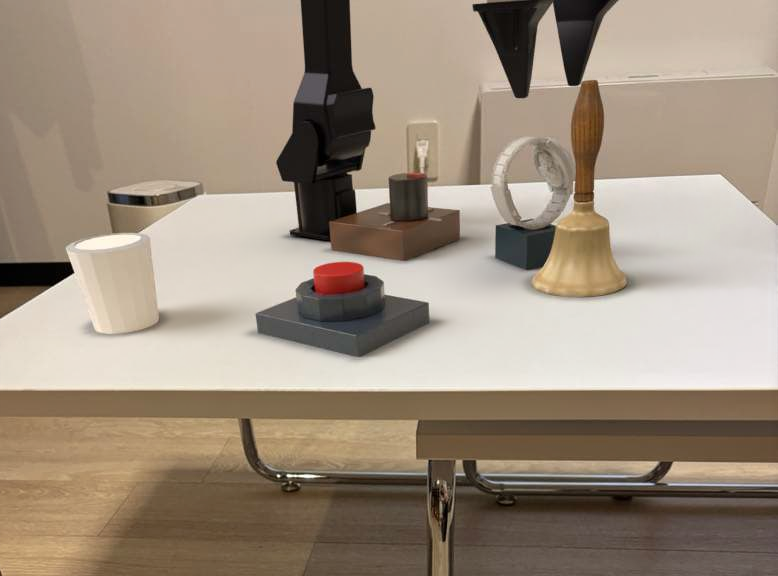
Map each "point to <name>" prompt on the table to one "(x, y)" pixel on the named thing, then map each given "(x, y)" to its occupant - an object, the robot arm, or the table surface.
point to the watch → (535, 236)
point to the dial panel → (393, 233)
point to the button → (339, 278)
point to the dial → (408, 196)
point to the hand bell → (582, 217)
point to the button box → (343, 318)
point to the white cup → (116, 281)
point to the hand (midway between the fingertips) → (548, 91)
